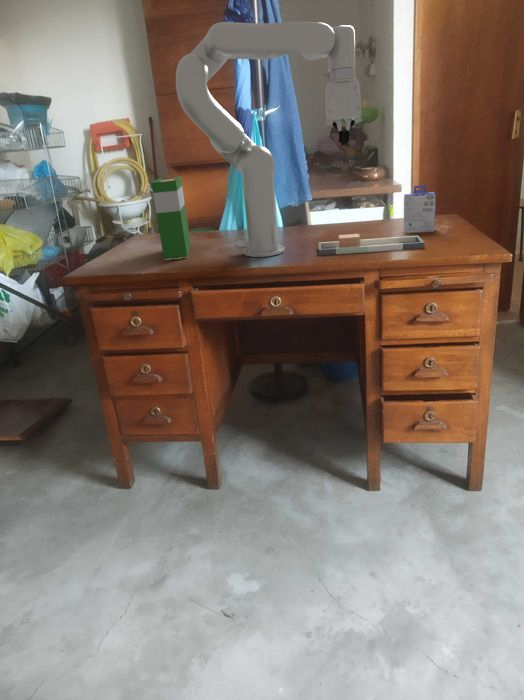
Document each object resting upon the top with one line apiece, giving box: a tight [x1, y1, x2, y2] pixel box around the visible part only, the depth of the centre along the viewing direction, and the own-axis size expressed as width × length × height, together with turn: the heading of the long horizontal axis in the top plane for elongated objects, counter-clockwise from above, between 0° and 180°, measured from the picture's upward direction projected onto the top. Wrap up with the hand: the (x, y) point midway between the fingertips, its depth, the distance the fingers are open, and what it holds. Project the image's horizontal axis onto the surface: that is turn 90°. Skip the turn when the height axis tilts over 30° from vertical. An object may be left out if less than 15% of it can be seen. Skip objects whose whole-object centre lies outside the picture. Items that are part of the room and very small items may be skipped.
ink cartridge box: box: [403, 184, 437, 234], centre depth 168 cm, size 10×6×14 cm, turn 76°
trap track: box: [318, 235, 426, 256], centre depth 153 cm, size 30×10×2 cm, turn 84°
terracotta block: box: [338, 233, 361, 248], centre depth 153 cm, size 6×5×4 cm
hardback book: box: [150, 175, 192, 260], centre depth 169 cm, size 18×7×24 cm, turn 3°
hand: (344, 145), depth 155 cm, fingers closed
